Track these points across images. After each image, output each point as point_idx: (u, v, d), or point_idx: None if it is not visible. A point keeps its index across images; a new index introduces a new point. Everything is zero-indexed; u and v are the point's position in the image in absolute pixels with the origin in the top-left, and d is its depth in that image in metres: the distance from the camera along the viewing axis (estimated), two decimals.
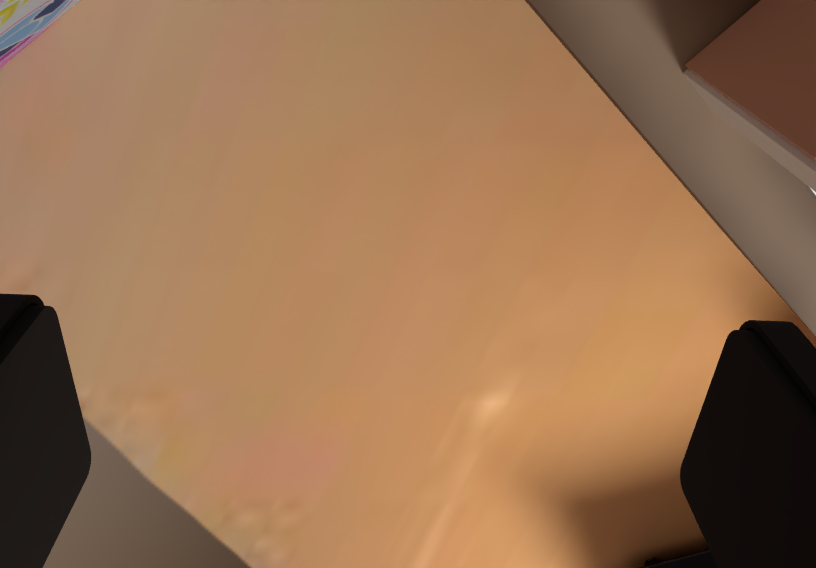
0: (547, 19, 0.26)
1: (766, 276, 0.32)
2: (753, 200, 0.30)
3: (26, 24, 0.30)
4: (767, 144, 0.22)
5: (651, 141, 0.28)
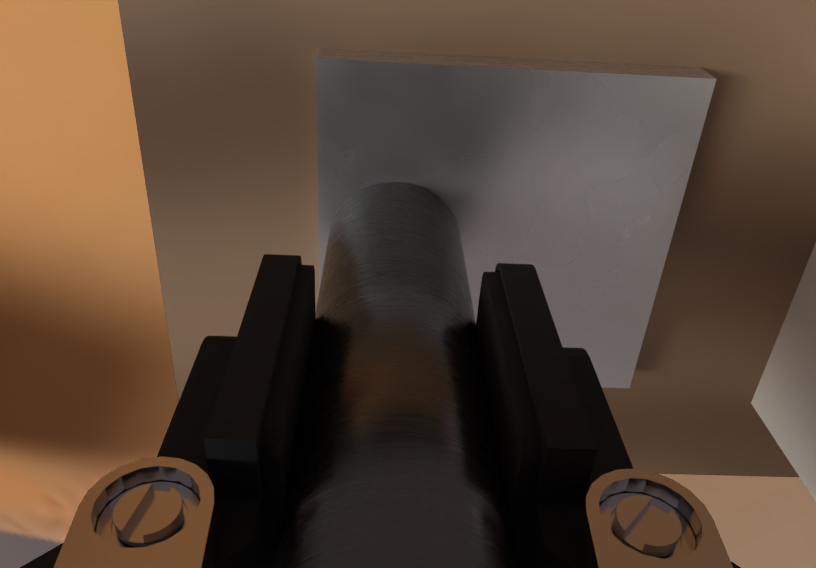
0: None
1: None
2: None
3: None
4: None
5: None
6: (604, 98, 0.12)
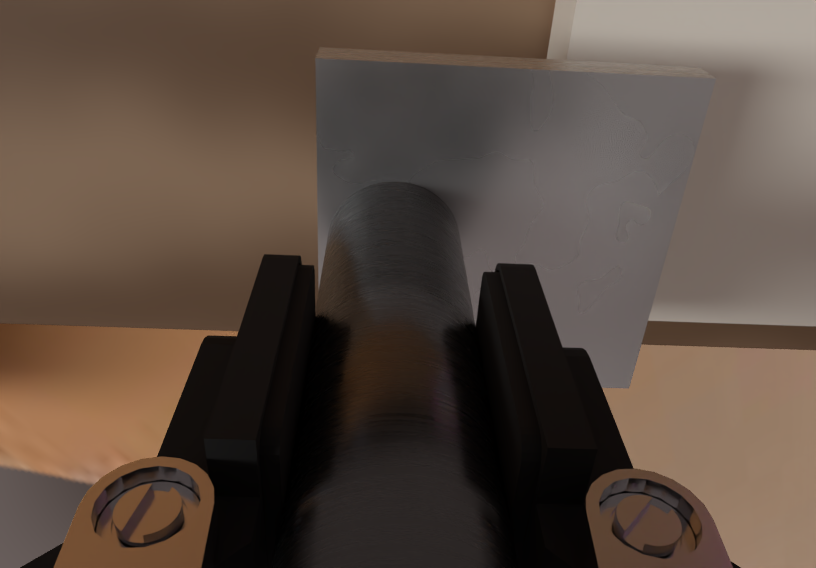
0: None
1: None
2: None
3: None
4: None
5: None
6: (603, 98, 0.12)
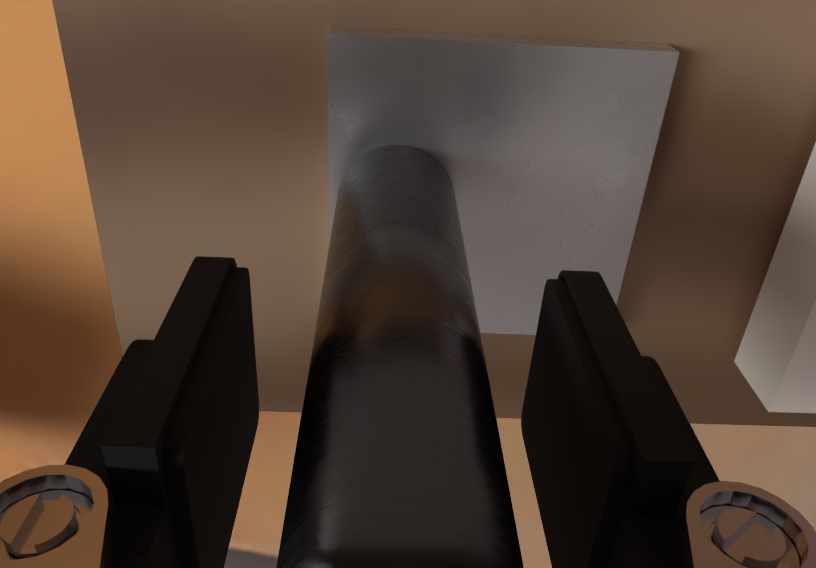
0: None
1: None
2: None
3: None
4: None
5: None
6: (581, 69, 0.14)
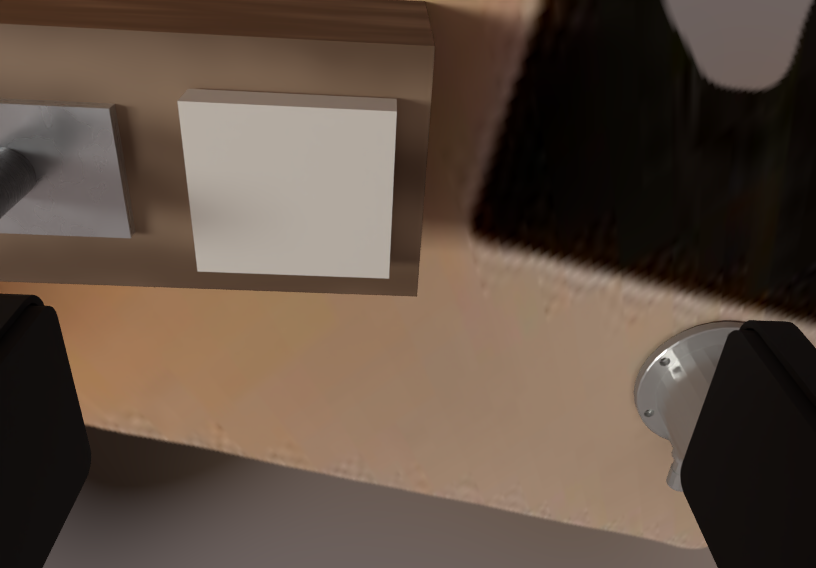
0: (291, 40, 0.33)
1: None
2: (37, 61, 0.33)
3: None
4: (316, 100, 0.33)
5: (146, 32, 0.33)
6: (70, 115, 0.34)
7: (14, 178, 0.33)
